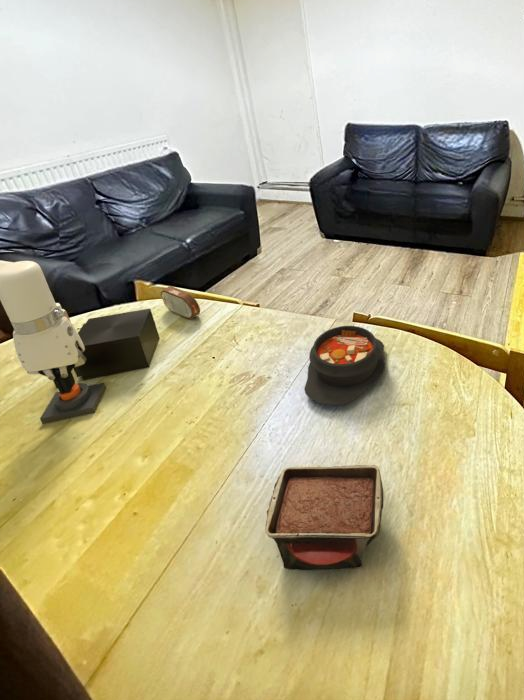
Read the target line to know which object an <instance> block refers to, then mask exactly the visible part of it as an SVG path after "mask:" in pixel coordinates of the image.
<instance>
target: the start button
mask: <svg viewBox="0 0 524 700" xmlns="http://www.w3.org/2000/svg"><path fill="white" fill-rule="evenodd" d="M58 392H59V391H58ZM80 393H81V390H80V388H79V385H78V384H77V383H76V382H75V384H74V386H73V387H72V389H71V390H70V392H68V393H66V392H65V393H63V394H60V392H59V395H60V397H61V399H62V400H63V401H67V400H71V399H73V398H75V397H77V396H78V395H79V394H80Z"/></svg>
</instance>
